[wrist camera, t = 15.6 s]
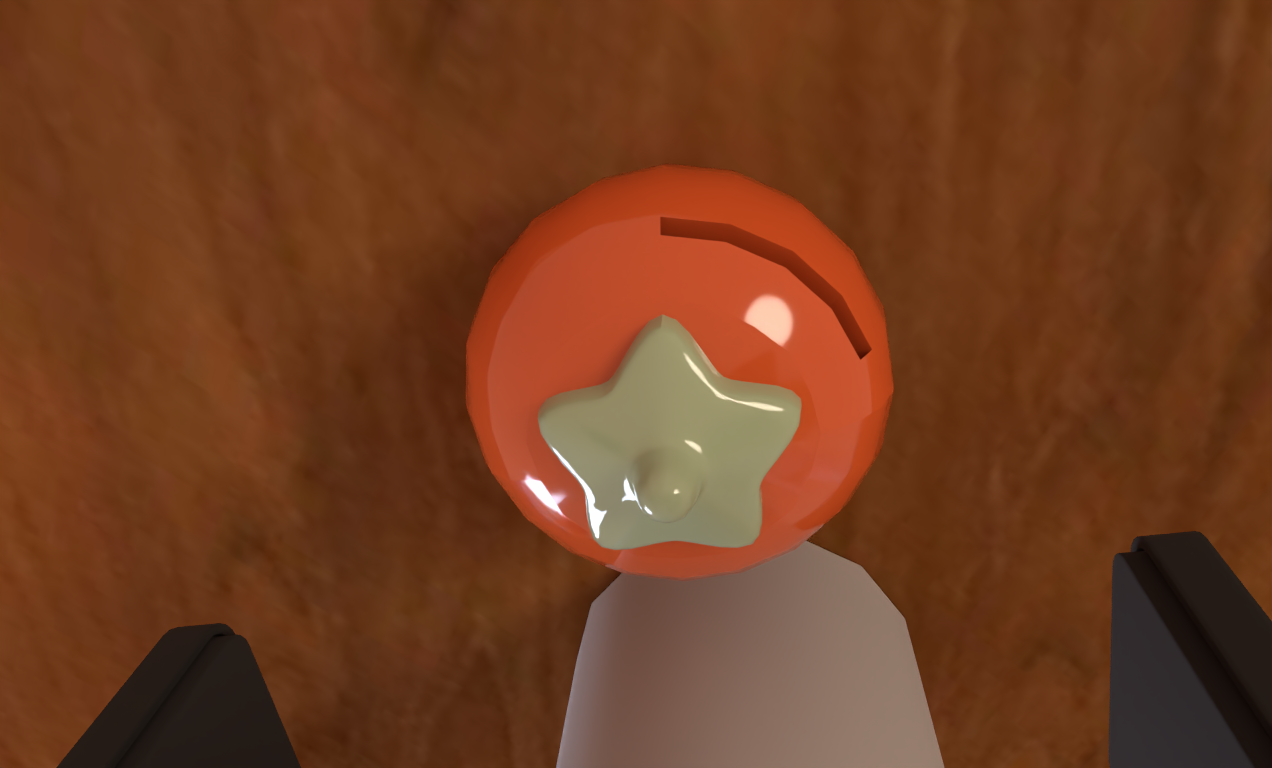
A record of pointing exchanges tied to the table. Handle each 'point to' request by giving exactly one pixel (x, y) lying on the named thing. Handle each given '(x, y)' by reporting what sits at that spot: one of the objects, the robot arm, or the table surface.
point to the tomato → (679, 373)
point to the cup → (749, 673)
